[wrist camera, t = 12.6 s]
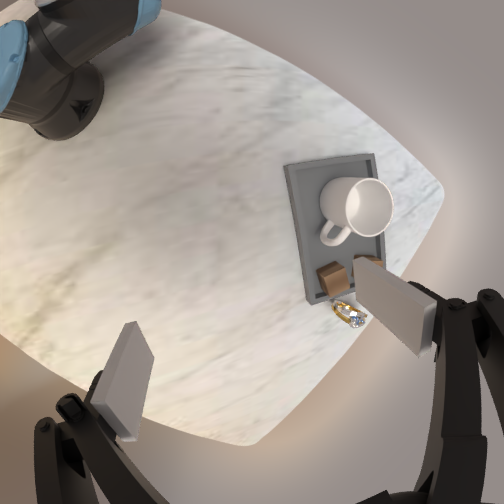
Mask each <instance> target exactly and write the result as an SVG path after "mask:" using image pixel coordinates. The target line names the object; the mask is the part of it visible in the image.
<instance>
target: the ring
mask: <svg viewBox="0 0 504 504" xmlns="http://www.w3.org/2000/svg"><path fill="white" fill-rule="evenodd" d="M339 306H340V307H342V308H343V307H344V308H346V309H348V310H350V311H352V312H349V311H346V310H344V309H342V308H340V307H339ZM331 307H332V309H333V311H334V312H335V314H336V315H337V316H338V317H339V318H341V319H342V320H343V321H345V322H346V323H348V324H349V325H350V326H351V327H352V328H358V327H361V326H362V325H364V324H365V321H366V319H365V317H366V318H367V314H365V313H363V312H362V311H360V310H358V309H356V308H354V307H352V306H350V305H348V304H346V303H344V302H342V301H338V300H334V302H333V303H332V305H331ZM338 310H339V311H340V312H342V313H344V314H347V315H351V316H349V318H350V319H349V318H347V317H345V316H344V315H342V314H341V313H340V312H339V311H338ZM357 315H358V316H357ZM359 321H361V322H359ZM352 322H353V323H354V324H353V323H352Z"/></svg>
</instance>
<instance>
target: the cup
mask: <svg viewBox="0 0 504 504" xmlns="http://www.w3.org/2000/svg"><path fill="white" fill-rule="evenodd" d="M320 208H321V211H322V214H323V215H324V217H325V218H326V219H327V220H328V221H327V222H326V223H325V225H324V227H323V228H322V231H321V234H320V239H321V241H322V243H323V244H325V245H327V246H337V245H339V244H341V243H342V242H343V241H344V240H345V239H346V238H347V237H348V236H349V234H350V233H351V232H354V233H356V234H359V235H361V236H364V237H373V236H376V235H379V234H380V233H382V232H383V231H384V230H385V229H386V228H387V227H388V225H389V224H390V222H391V219H392V216H393V212H394V202H393V197H392V194H391V192H390V190H389V189H388V187H387V186H386V185H385V184H384V183H383V182H382V181H380V180H378V179H375V178H356V177H340V178H335V179H333V180H331V181H329V182H328V183H327V184H326V185H325V186H324V188H323V190H322V192H321V195H320ZM334 225H336V226H339V227H341V228H343V229H342V230H341V232H340V233H339V235H338V236H337V237H336V238H334V239H329V238H327V234H328V233H329V231H330V230H331V228H332V227H333V226H334Z"/></svg>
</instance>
